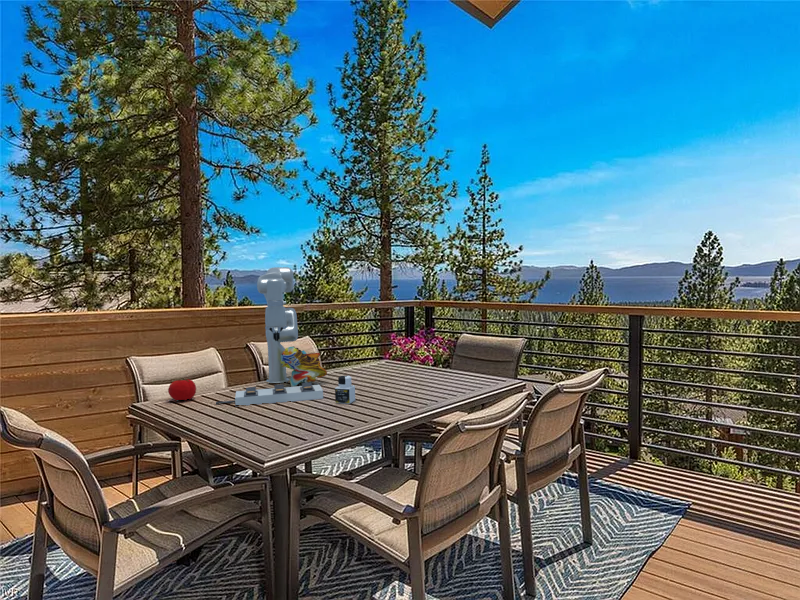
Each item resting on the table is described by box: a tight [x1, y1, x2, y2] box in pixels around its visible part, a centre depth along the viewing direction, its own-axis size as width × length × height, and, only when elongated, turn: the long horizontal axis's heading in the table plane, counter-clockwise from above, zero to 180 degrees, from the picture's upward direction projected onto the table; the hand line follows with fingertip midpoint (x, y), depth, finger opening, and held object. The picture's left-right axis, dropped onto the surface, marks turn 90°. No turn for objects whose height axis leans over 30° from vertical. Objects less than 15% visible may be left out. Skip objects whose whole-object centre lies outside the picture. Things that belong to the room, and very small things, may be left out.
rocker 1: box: [245, 386, 257, 395], centre depth 244 cm, size 7×4×2 cm, turn 16°
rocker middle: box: [273, 383, 285, 393], centre depth 248 cm, size 7×4×2 cm, turn 16°
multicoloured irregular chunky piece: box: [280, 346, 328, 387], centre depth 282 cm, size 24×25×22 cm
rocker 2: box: [301, 382, 313, 391], centre depth 251 cm, size 7×4×2 cm, turn 16°
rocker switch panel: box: [215, 384, 324, 406], centre depth 249 cm, size 14×49×5 cm, turn 106°
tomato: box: [167, 377, 197, 401], centre depth 254 cm, size 13×12×11 cm
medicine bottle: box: [334, 375, 356, 405], centre depth 242 cm, size 7×7×12 cm
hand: (276, 340), depth 260 cm, fingers closed
